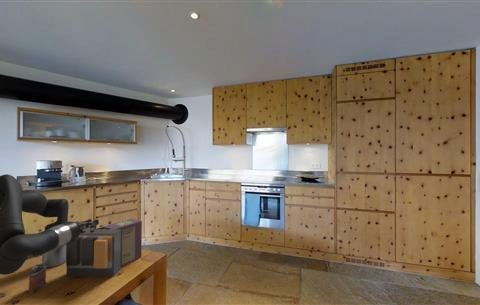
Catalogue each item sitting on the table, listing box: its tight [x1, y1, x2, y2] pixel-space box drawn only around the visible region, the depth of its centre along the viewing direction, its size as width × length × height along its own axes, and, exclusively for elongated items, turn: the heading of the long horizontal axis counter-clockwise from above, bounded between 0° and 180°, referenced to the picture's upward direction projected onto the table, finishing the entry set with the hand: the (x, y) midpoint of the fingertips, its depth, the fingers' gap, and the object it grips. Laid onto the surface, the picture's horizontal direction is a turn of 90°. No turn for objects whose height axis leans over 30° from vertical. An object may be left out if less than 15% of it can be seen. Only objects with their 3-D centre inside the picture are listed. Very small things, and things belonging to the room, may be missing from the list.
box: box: [102, 218, 143, 268], centre depth 127 cm, size 17×9×20 cm, turn 153°
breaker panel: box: [65, 228, 121, 277], centre depth 113 cm, size 22×8×20 cm, turn 90°
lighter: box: [27, 262, 48, 295], centre depth 101 cm, size 8×3×10 cm, turn 5°
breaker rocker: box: [94, 240, 108, 268], centre depth 108 cm, size 5×3×12 cm, turn 90°
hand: (94, 221), depth 102 cm, fingers open, 2 cm apart
